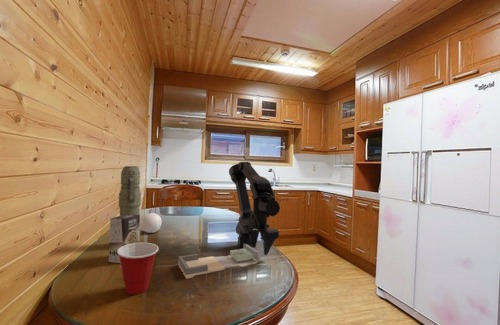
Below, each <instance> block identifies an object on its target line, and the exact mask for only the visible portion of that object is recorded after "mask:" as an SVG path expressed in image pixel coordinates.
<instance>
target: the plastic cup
mask: <svg viewBox="0 0 500 325" xmlns="http://www.w3.org/2000/svg"><path fill="white" fill-rule="evenodd" d="M159 251H160V250H159V246H158V245H156V243H151V242H140V243H132V244H127V245H125V246H122V247H120V248H119V249H118V251H117V253H118V255H119V257H120V262H121V263H120V264H121V272H122V278H123V283H124V288H125V293H126V294H127V295H132V296H133V295H134V296H135V295H140V294H143V293H145V292H146V291H147V290H148V289H149V285H150V280H151V277H152V271H153V266H154V262H155V258H156V256H157V253H158V252H159Z"/></svg>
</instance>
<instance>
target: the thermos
mask: <svg viewBox="0 0 500 325" xmlns="http://www.w3.org/2000/svg"><path fill="white" fill-rule="evenodd" d="M140 180H141V172H140V168H139V167H137V165H136V166H134V165H133V166H131V165H130V166H127V165H126V166H124V167H122V170H121V172H120V185H121V186H120V190H119V193H118V207H119V216H122V215H126V214H135V215H140V206H141V204H142V201H141V200H142V199H141V198H142V193H141V189H140V184H141V183H140V182H141V181H140ZM140 239H141V227H139V240H140ZM139 243H141V242H140V241H139Z"/></svg>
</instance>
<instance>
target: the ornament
mask: <svg viewBox="0 0 500 325" xmlns="http://www.w3.org/2000/svg"><path fill="white" fill-rule="evenodd" d="M162 223H163V222H162V216H160V215H159V214H158V213H156V212H153V209H149V212H148V213H146V214H144V215H143V216H142V217H141V220H140V229H142V231H143V232H145V233H147V234H151V233H152V234H153V233H155V232H157V231H159V230H160V228H161V227H162Z"/></svg>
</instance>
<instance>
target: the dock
mask: <svg viewBox="0 0 500 325" xmlns="http://www.w3.org/2000/svg"><path fill="white" fill-rule="evenodd" d="M177 261H178V262H177V265H179V266H178V268H179V269H180V271H181V272H183V273H182V274H183V276H184V277H185V279H186V280H187V279H192V278H196V277H195V276H199V275H205V274H208V273H209V274H210V273H214V272H221V271H224V270H225V269H228V268H234V267H245V266H250V265H255V264H258V262H257V260H254V259H253V260H244V261H241V262H240V263H238V262H237V261H236V260H235V259H234V258H232V257H231V256H230V254H228V255H225V256H213V255H212V256H205V257H199V254H198V253H194V254H187V255H179V256H178V260H177Z"/></svg>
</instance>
